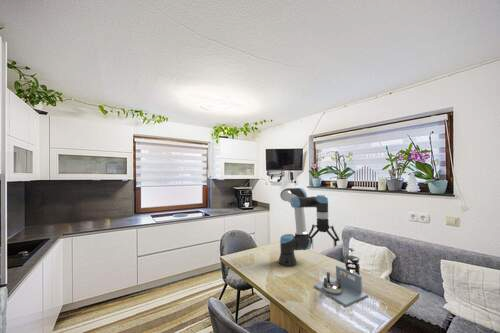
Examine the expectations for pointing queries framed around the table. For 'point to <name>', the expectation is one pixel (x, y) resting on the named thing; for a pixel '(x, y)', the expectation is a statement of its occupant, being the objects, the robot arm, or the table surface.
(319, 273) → the table surface
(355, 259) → the french press
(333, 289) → the capstan
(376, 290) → the table surface
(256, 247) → the table surface
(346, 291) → the stand
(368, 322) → the table surface
